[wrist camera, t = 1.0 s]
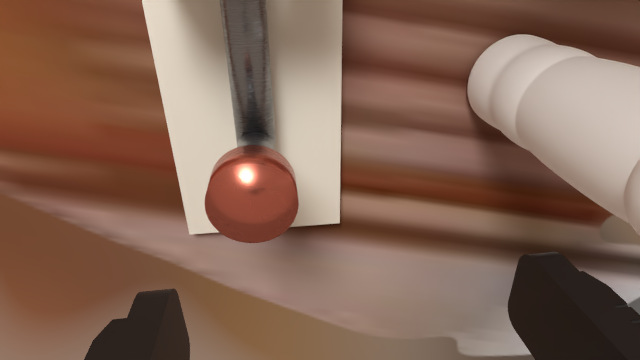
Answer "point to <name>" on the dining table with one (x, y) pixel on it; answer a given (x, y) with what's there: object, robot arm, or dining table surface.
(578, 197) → the dining table surface
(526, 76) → the water bottle
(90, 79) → the dining table surface
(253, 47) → the ball knob lever
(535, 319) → the robot arm
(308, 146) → the cream l-shaped stand
